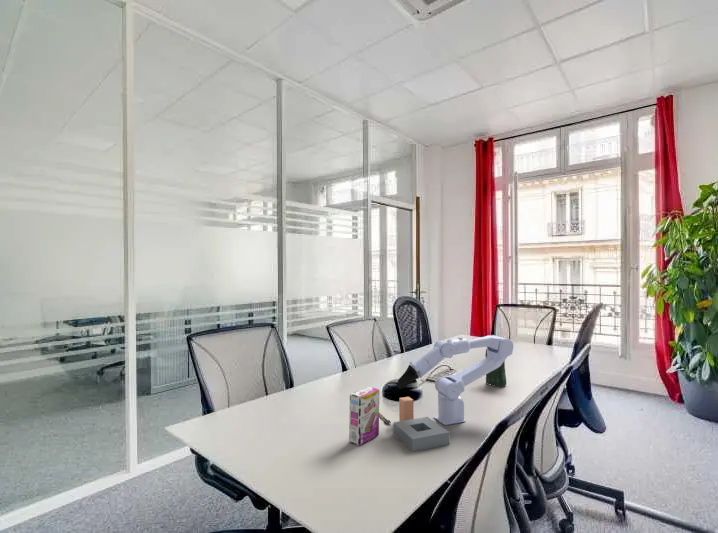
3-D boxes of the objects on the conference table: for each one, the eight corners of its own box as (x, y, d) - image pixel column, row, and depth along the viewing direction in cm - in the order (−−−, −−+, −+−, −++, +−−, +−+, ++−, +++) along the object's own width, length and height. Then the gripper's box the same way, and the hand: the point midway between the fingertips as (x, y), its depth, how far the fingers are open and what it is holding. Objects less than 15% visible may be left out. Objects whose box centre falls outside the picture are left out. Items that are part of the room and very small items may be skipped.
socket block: (427, 427, 135) (427, 416, 135) (449, 444, 122) (449, 432, 122) (393, 433, 130) (393, 422, 130) (412, 451, 117) (412, 439, 117)
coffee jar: (508, 385, 185) (508, 348, 186) (501, 388, 180) (501, 351, 180) (490, 381, 192) (490, 346, 193) (483, 384, 187) (482, 348, 187)
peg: (408, 419, 142) (408, 396, 142) (413, 423, 138) (413, 400, 139) (399, 421, 141) (399, 397, 141) (404, 425, 137) (404, 401, 137)
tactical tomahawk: (359, 409, 156) (359, 407, 156) (373, 406, 158) (373, 404, 158) (376, 428, 136) (376, 425, 136) (393, 424, 138) (392, 421, 138)
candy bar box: (360, 447, 120) (359, 397, 120) (348, 442, 123) (348, 394, 124) (380, 435, 129) (379, 388, 129) (369, 431, 132) (368, 386, 132)
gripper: (417, 358, 148) (391, 379, 145) (421, 350, 135) (392, 372, 132) (429, 373, 145) (402, 394, 142) (434, 365, 132) (405, 389, 129)
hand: (398, 385), depth 137 cm, fingers open, 7 cm apart
